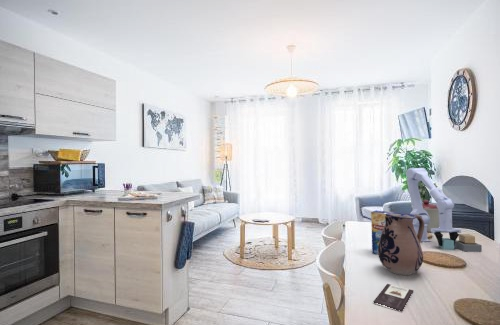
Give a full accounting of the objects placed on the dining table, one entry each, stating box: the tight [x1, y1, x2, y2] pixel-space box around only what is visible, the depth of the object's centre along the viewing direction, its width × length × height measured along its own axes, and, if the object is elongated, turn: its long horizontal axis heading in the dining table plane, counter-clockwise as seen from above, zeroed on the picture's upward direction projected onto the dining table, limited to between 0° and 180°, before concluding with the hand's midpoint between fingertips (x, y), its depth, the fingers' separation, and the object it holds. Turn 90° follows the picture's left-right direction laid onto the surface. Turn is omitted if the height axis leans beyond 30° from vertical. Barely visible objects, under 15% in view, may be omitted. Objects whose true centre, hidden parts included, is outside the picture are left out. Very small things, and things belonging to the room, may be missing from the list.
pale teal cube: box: [438, 237, 455, 251], centre depth 150 cm, size 5×5×5 cm
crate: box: [454, 239, 483, 253], centre depth 148 cm, size 9×9×4 cm
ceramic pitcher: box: [378, 212, 424, 276], centre depth 121 cm, size 18×21×25 cm
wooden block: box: [458, 233, 476, 245], centre depth 148 cm, size 5×5×7 cm
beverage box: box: [370, 210, 398, 255], centre depth 143 cm, size 7×11×22 cm, turn 45°
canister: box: [410, 199, 440, 233], centre depth 189 cm, size 18×18×21 cm
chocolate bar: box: [372, 283, 414, 311], centre depth 98 cm, size 9×1×18 cm
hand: (446, 245), depth 150 cm, fingers open, 5 cm apart
